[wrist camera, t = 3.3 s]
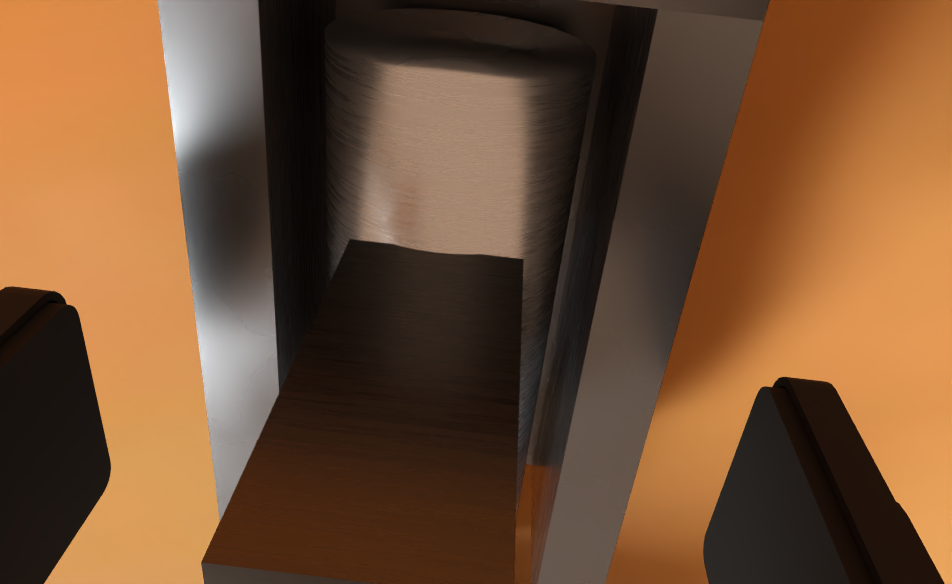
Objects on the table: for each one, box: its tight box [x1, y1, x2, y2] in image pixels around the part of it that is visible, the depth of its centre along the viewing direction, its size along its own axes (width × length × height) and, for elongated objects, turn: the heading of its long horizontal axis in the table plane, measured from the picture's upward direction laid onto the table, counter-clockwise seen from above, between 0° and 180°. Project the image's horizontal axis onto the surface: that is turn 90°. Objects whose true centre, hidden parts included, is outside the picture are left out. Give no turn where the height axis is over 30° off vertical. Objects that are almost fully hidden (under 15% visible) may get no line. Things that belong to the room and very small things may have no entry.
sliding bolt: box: [201, 8, 597, 584], centre depth 12 cm, size 14×4×9 cm, turn 175°
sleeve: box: [158, 0, 770, 584], centre depth 13 cm, size 12×7×5 cm, turn 175°
